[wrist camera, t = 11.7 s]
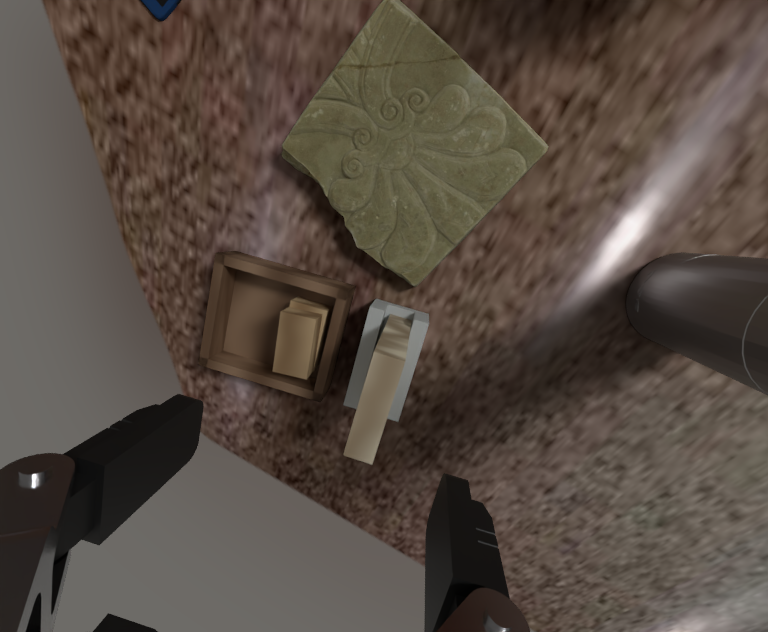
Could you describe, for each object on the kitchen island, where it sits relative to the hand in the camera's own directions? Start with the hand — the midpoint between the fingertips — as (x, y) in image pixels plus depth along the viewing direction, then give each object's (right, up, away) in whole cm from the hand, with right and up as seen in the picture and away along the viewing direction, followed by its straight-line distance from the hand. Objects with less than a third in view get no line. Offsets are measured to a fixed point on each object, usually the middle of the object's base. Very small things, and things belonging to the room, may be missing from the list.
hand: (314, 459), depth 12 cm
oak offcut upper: (-7, +2, +27) cm, 28 cm away
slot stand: (+3, 0, +30) cm, 30 cm away
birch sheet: (+3, 0, +29) cm, 29 cm away
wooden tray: (-9, +4, +30) cm, 32 cm away
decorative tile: (+4, +20, +26) cm, 33 cm away
